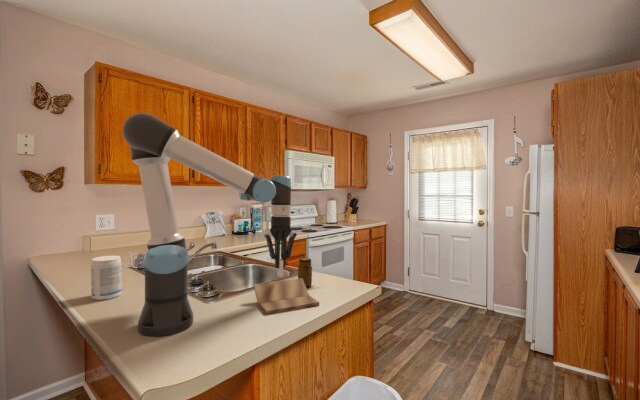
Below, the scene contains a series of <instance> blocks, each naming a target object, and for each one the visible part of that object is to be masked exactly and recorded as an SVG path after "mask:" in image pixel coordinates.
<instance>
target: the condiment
mask: <svg viewBox="0 0 640 400" xmlns="http://www.w3.org/2000/svg"><path fill="white" fill-rule="evenodd" d="M298 260H299V261H298V265H297V266H298V267H297V279H299V278H303V281H304V284H305V286H306V289H307V291H309V290H314V289H317V288H318V286H316V285H314V284H312V283H313V282H312V281H313V279H312V278H313V265H312V259H311V258H308V257H300V258H299V259H298Z"/></svg>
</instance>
